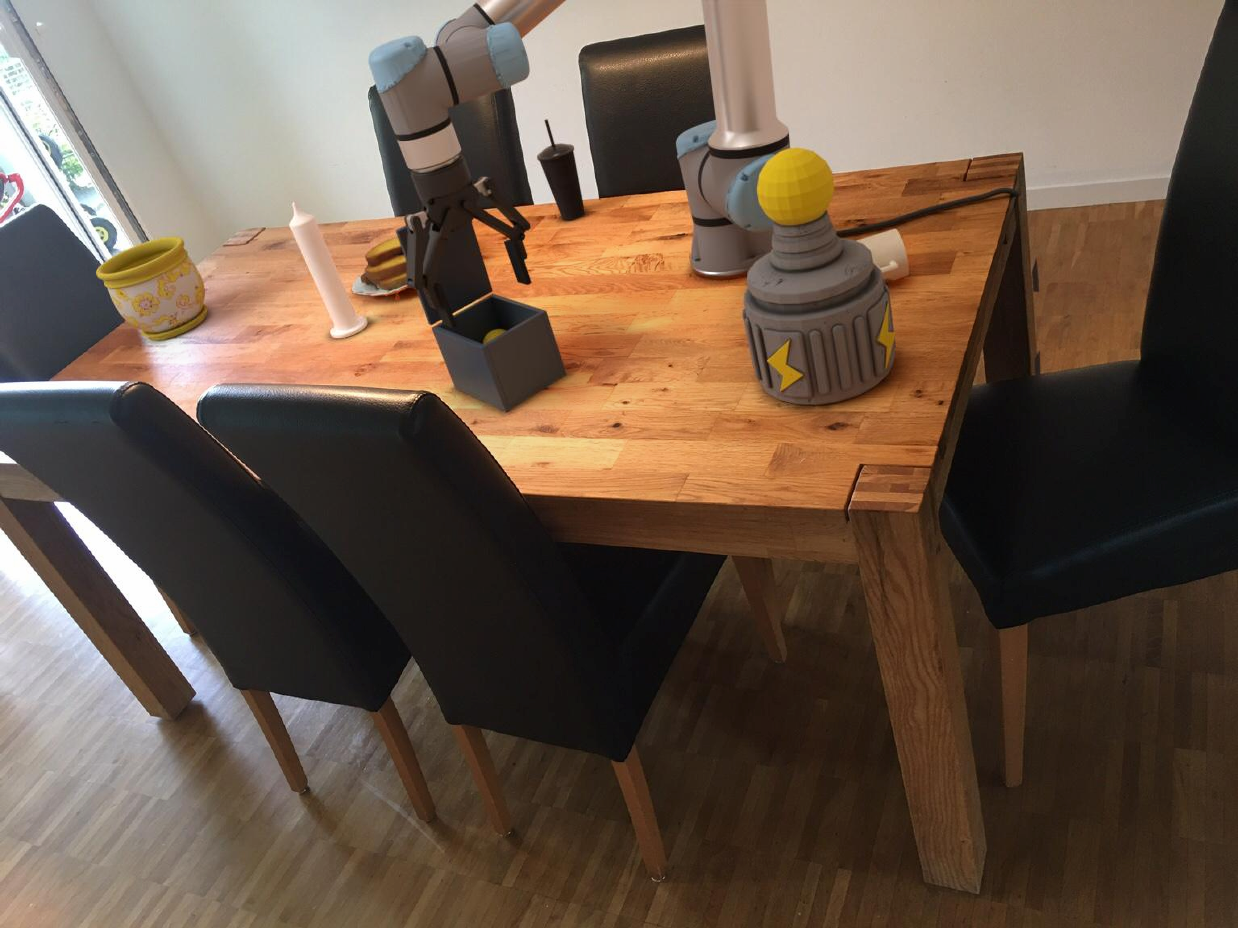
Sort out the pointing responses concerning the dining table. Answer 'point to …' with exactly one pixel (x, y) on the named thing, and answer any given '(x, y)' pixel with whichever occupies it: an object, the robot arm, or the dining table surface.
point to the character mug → (888, 254)
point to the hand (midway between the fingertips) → (488, 303)
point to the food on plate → (383, 270)
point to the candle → (325, 275)
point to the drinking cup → (562, 177)
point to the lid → (455, 270)
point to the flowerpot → (156, 287)
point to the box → (500, 351)
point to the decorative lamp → (814, 294)
